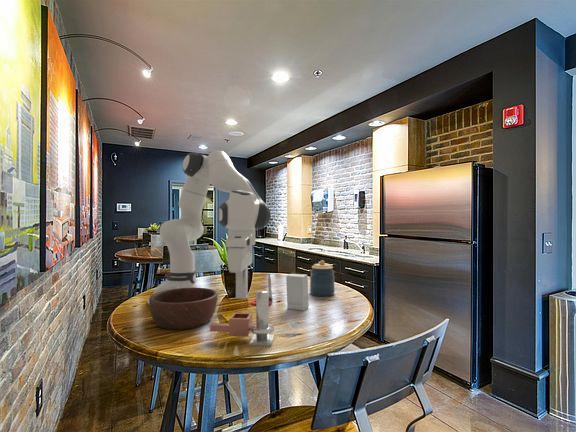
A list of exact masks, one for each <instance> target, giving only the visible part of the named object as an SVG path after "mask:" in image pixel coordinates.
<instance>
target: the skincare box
mask: <svg viewBox="0 0 576 432" xmlns="http://www.w3.org/2000/svg"><path fill="white" fill-rule="evenodd" d="M285 277H286V278H285V279H286V280H285V281H286V305H287V306H286V307H287V308H286V309H288V310H295V311H302V312H303V311H305V310H307V309H309V306H310V305H309V304H310V303H309V285H308V284H309V283H308V281H309V279H308V274H303V273H302V274H300V273H290V274H287V275H286V276H285Z"/></svg>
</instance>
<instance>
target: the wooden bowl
mask: <svg viewBox="0 0 576 432" xmlns="http://www.w3.org/2000/svg"><path fill="white" fill-rule="evenodd" d="M148 300H149V304H148V305H149V309H150V310H149V311H150V316H151V317H152V320H153V322H154V323H155V325H156V326H157V327H160V328H161V327H162V329H165V328H166V329H165V330H174V329H177V330H187V329H192V328H193V329H194V328H197V327H200V326H204V325H205V324H207V323H208V322H210V320H211V319H212V318H213V316H214V313H215V311H216V307H217V304H218V303H217V302H218V292H217V291H216V290H215V289H211V288H205V287H196V288H177V289H170V290H165V291H161V292H158V293H155V294H153V293H152V295H151V296H149V298H148Z"/></svg>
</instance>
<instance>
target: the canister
mask: <svg viewBox="0 0 576 432" xmlns="http://www.w3.org/2000/svg"><path fill="white" fill-rule="evenodd" d="M311 268H312V269H310V271H309V273H310V277H309V278H310V279H309V281H310V282H309V283H310V284H309V293H310V295H312V296H314V297H315V296H316V297H331V296H334V294H335V290H336V289H335V275H334V274H335V273H336V272H335V270H333V268H334V266H332V265H331V264H330V263H326V262H325V260H323V259H322V260H320V261H319V263H314V264H313V265H312V266H311Z"/></svg>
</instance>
